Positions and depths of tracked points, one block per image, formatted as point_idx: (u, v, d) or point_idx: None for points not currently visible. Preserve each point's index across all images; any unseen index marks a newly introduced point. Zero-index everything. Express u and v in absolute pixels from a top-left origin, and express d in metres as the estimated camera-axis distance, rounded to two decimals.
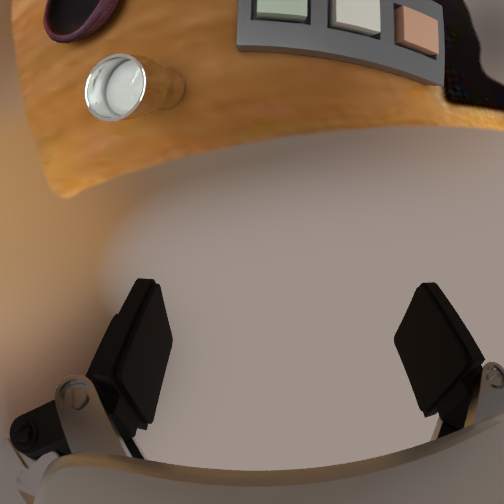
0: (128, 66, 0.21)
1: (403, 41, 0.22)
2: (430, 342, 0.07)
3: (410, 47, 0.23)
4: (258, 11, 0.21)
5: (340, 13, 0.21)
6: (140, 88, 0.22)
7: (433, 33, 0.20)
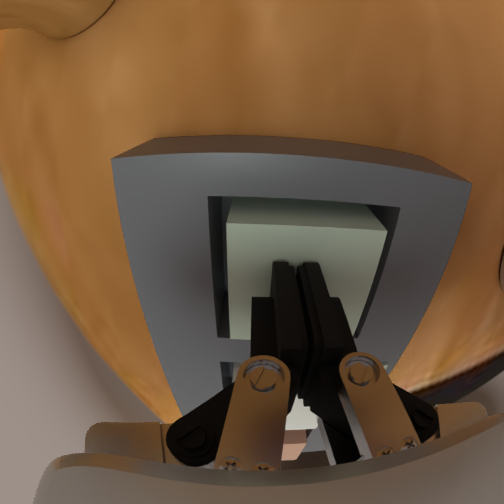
0: None
1: None
2: None
3: None
4: (229, 227, 0.09)
5: None
6: None
7: None
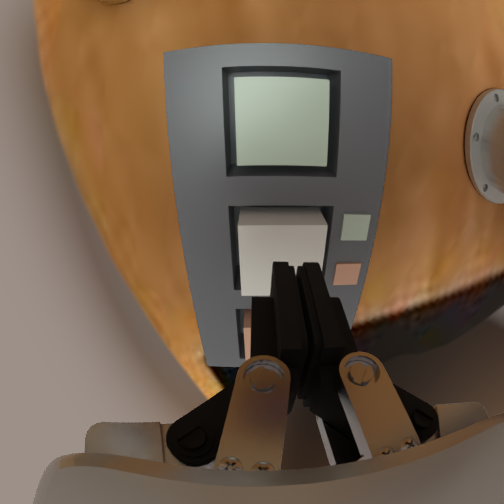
0: None
1: (244, 323, 0.22)
2: None
3: None
4: (236, 79, 0.14)
5: (258, 232, 0.17)
6: None
7: None
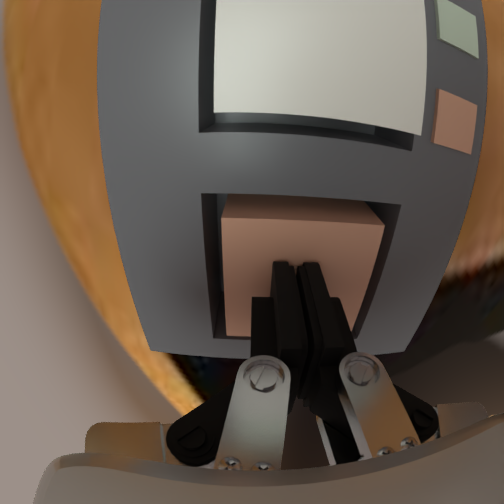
0: None
1: None
2: None
3: None
4: None
5: None
6: None
7: None
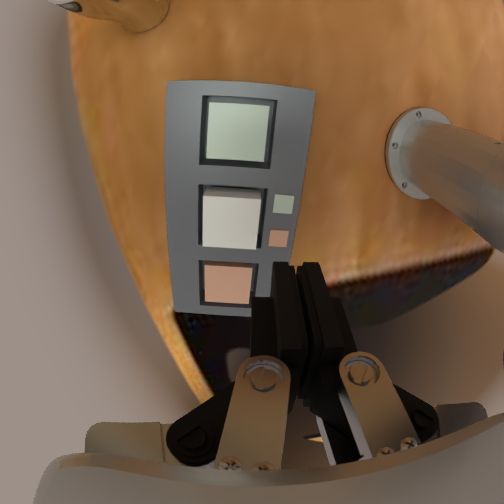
0: None
1: (205, 263, 0.33)
2: None
3: None
4: (210, 104, 0.23)
5: (215, 201, 0.26)
6: None
7: (229, 297, 0.34)
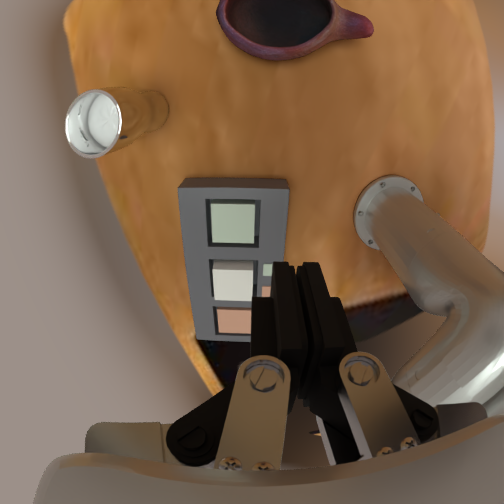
0: None
1: None
2: None
3: None
4: (211, 205, 0.35)
5: (221, 272, 0.38)
6: (109, 129, 0.23)
7: (236, 329, 0.46)
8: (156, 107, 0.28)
